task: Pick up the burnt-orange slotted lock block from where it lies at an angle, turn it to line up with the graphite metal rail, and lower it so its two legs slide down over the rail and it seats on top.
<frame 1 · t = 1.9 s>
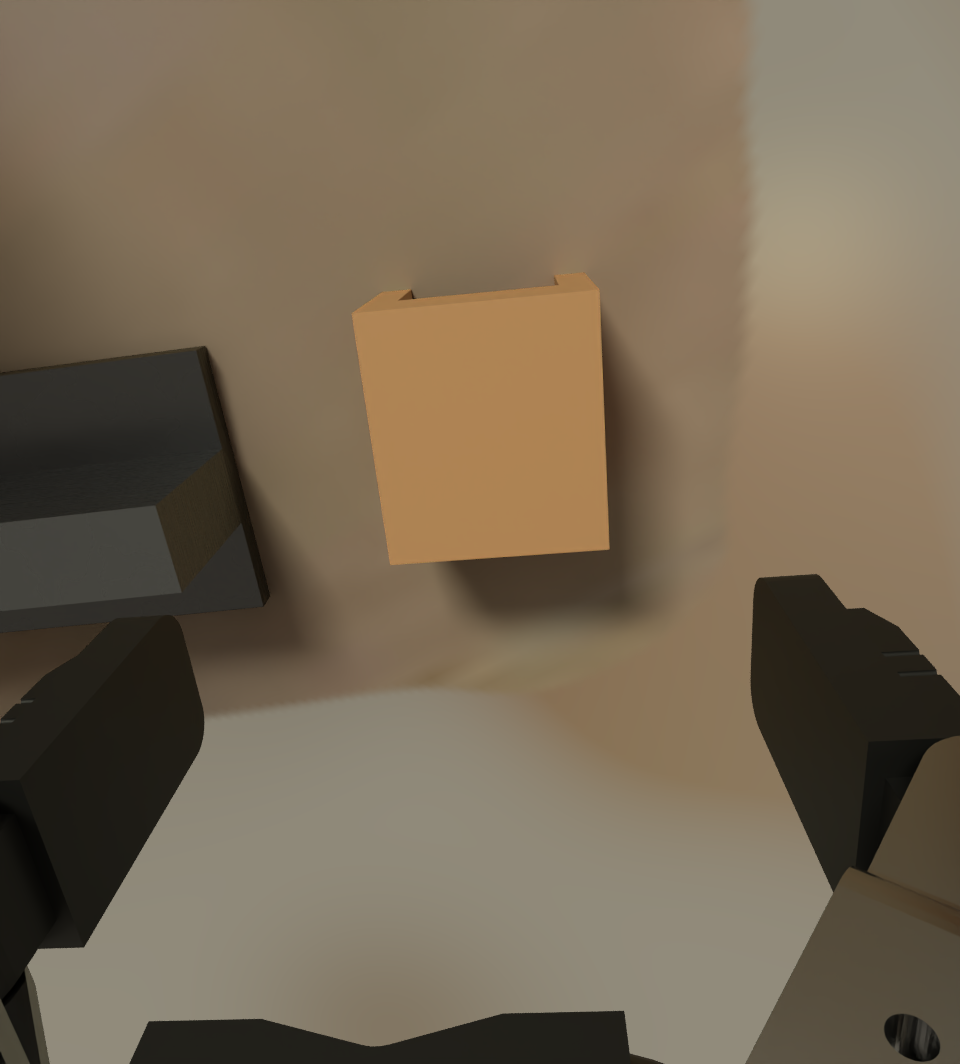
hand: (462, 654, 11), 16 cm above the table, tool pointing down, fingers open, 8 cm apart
rail: (18, 504, 28), on the table
lock block: (492, 394, 26), on the table
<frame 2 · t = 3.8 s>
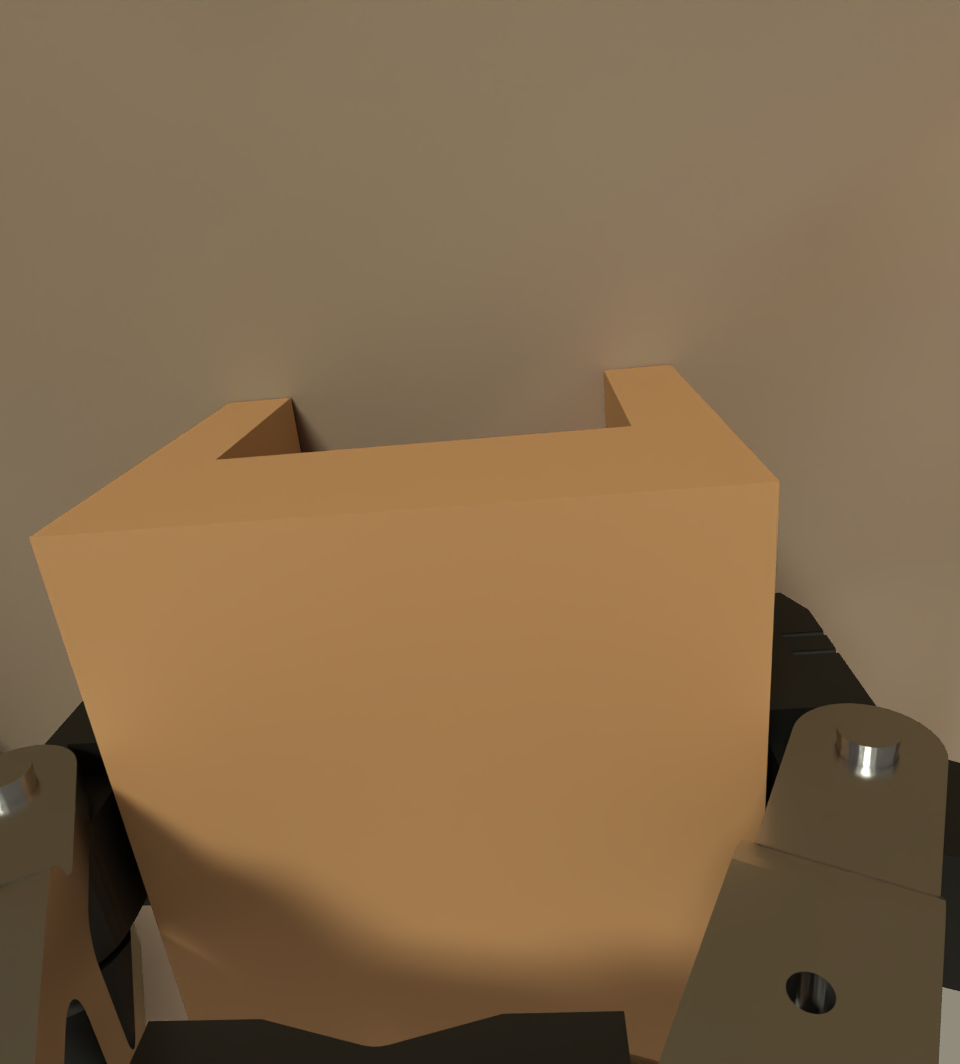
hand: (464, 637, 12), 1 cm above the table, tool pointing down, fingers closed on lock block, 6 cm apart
lock block: (470, 607, 12), on the table, touching gripper
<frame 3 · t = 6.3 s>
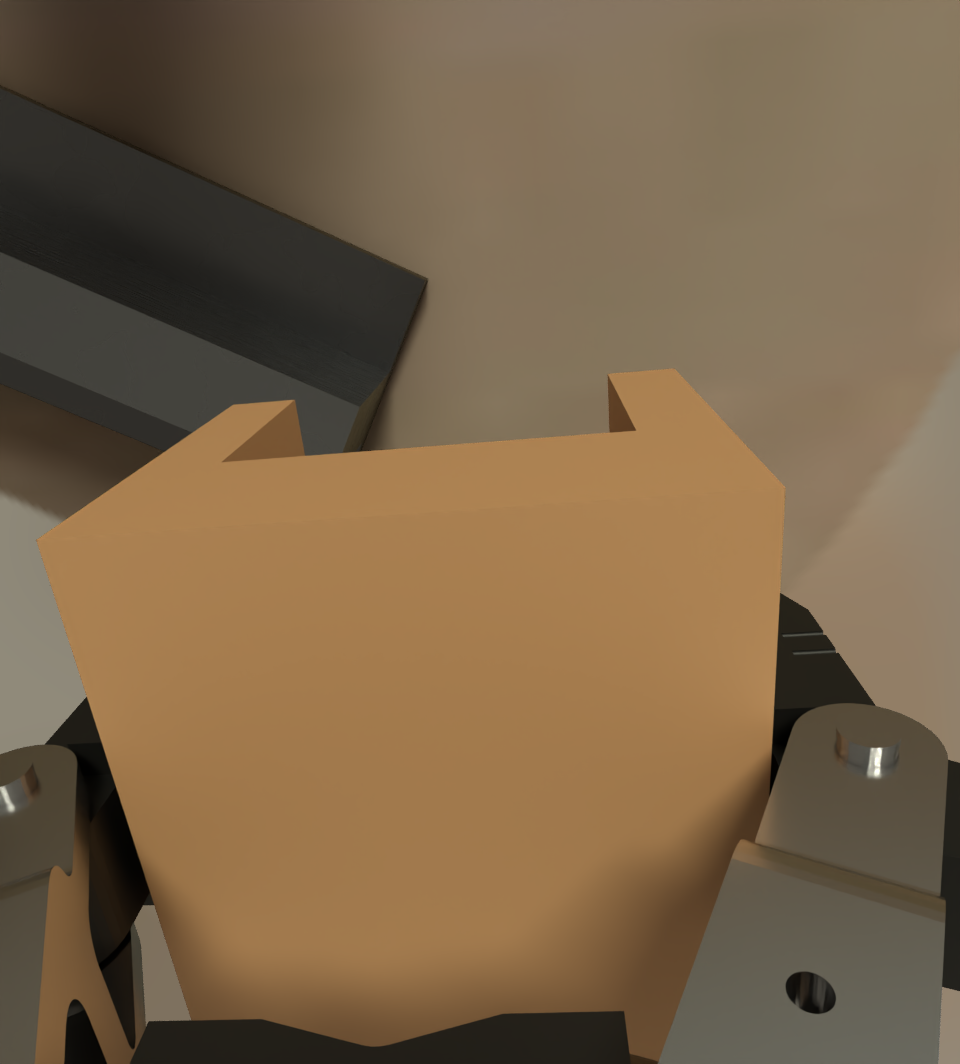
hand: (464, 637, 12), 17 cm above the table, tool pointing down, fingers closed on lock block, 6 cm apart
rail: (159, 307, 27), on the table
lock block: (472, 609, 12), point 16 cm above the table, touching gripper
when the fingers open (5 cm above the table, at t = 9.3 s): lock block drops 1 cm, resting on rail.
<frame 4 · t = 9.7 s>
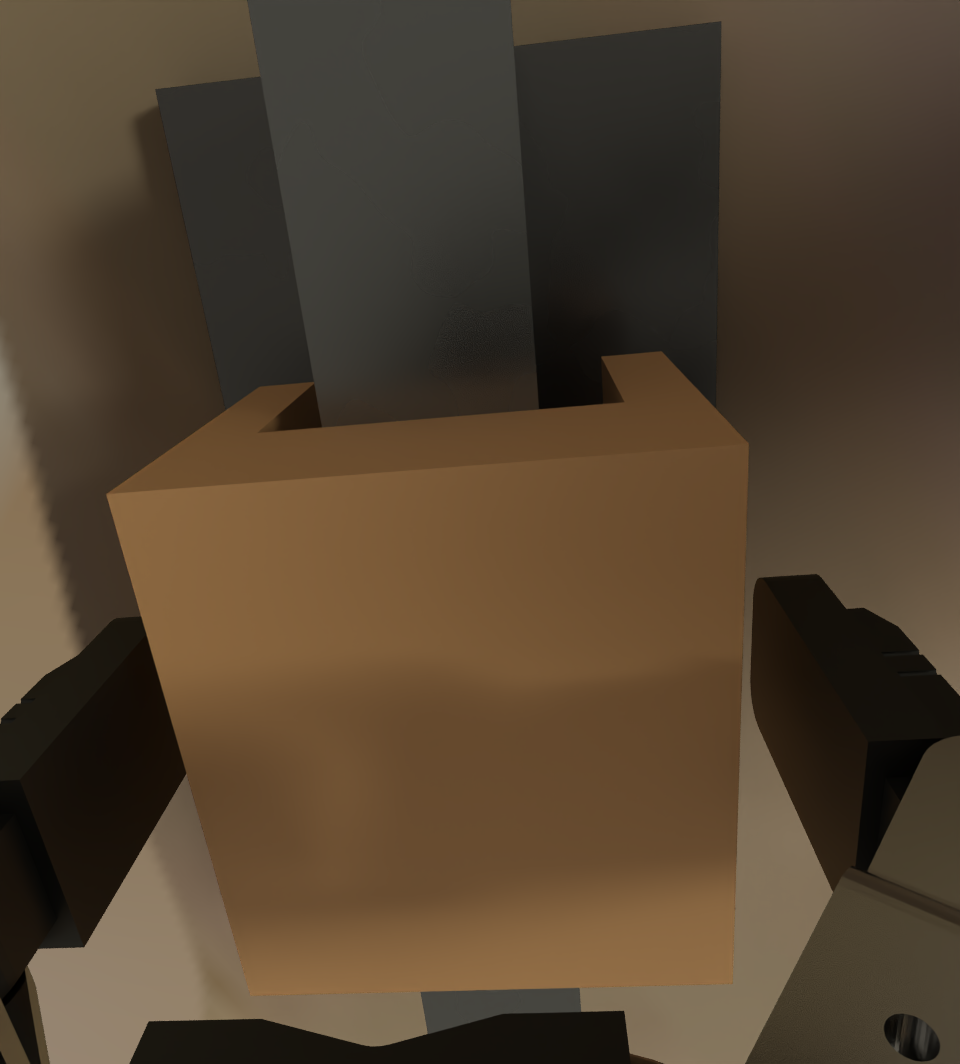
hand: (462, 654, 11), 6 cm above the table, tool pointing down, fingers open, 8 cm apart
rail: (481, 511, 16), on the table
lock block: (478, 575, 14), point 3 cm above the table, touching rail
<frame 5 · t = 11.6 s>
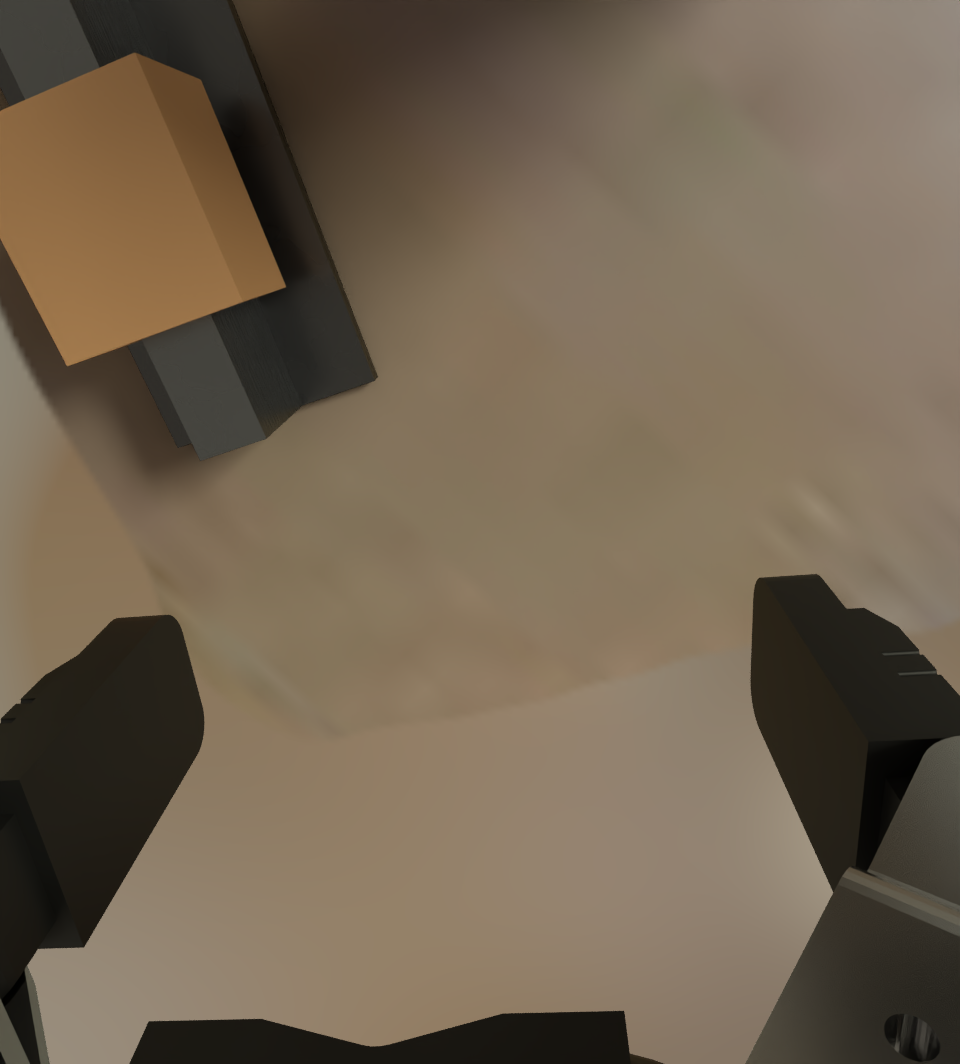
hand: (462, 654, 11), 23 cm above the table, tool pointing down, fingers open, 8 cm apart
rail: (195, 218, 31), on the table
lock block: (166, 218, 28), point 3 cm above the table, touching rail
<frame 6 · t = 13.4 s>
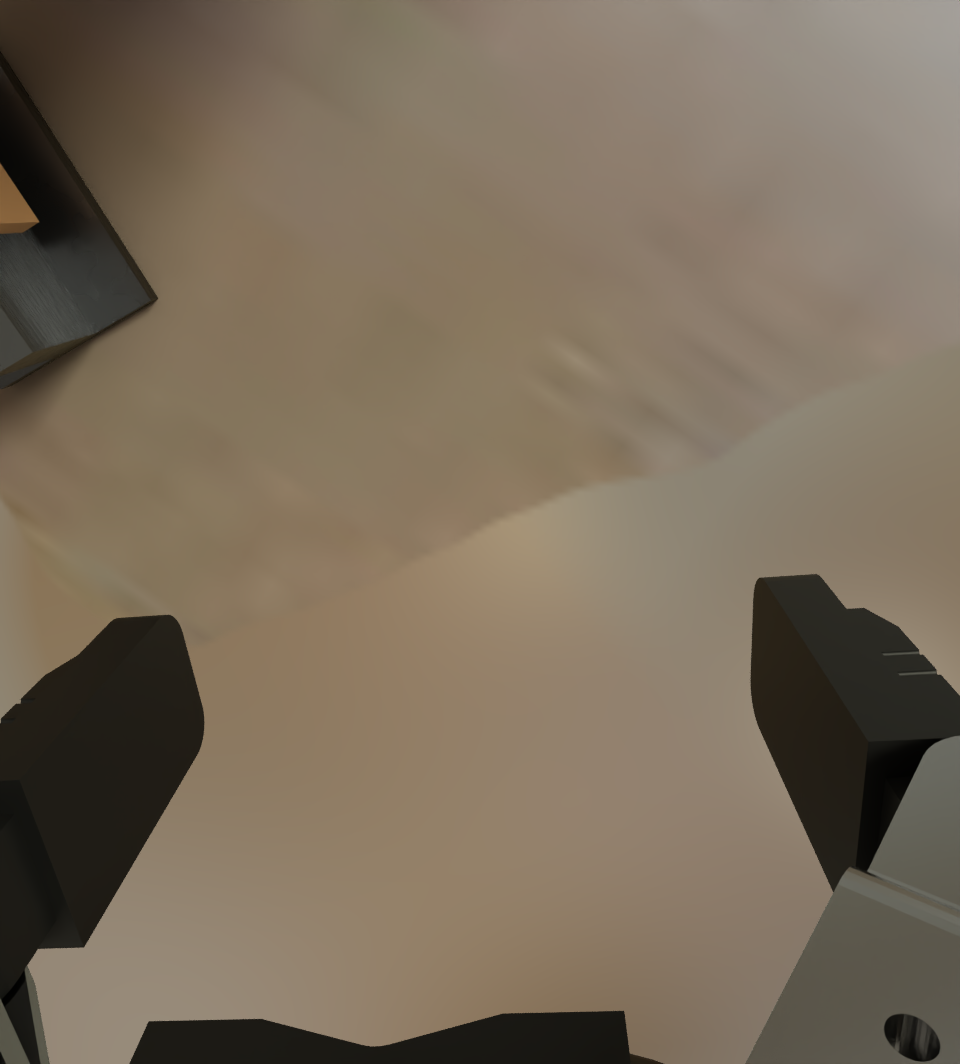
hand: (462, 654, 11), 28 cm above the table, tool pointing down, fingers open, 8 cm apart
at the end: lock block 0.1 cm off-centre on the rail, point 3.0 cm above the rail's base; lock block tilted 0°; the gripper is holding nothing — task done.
